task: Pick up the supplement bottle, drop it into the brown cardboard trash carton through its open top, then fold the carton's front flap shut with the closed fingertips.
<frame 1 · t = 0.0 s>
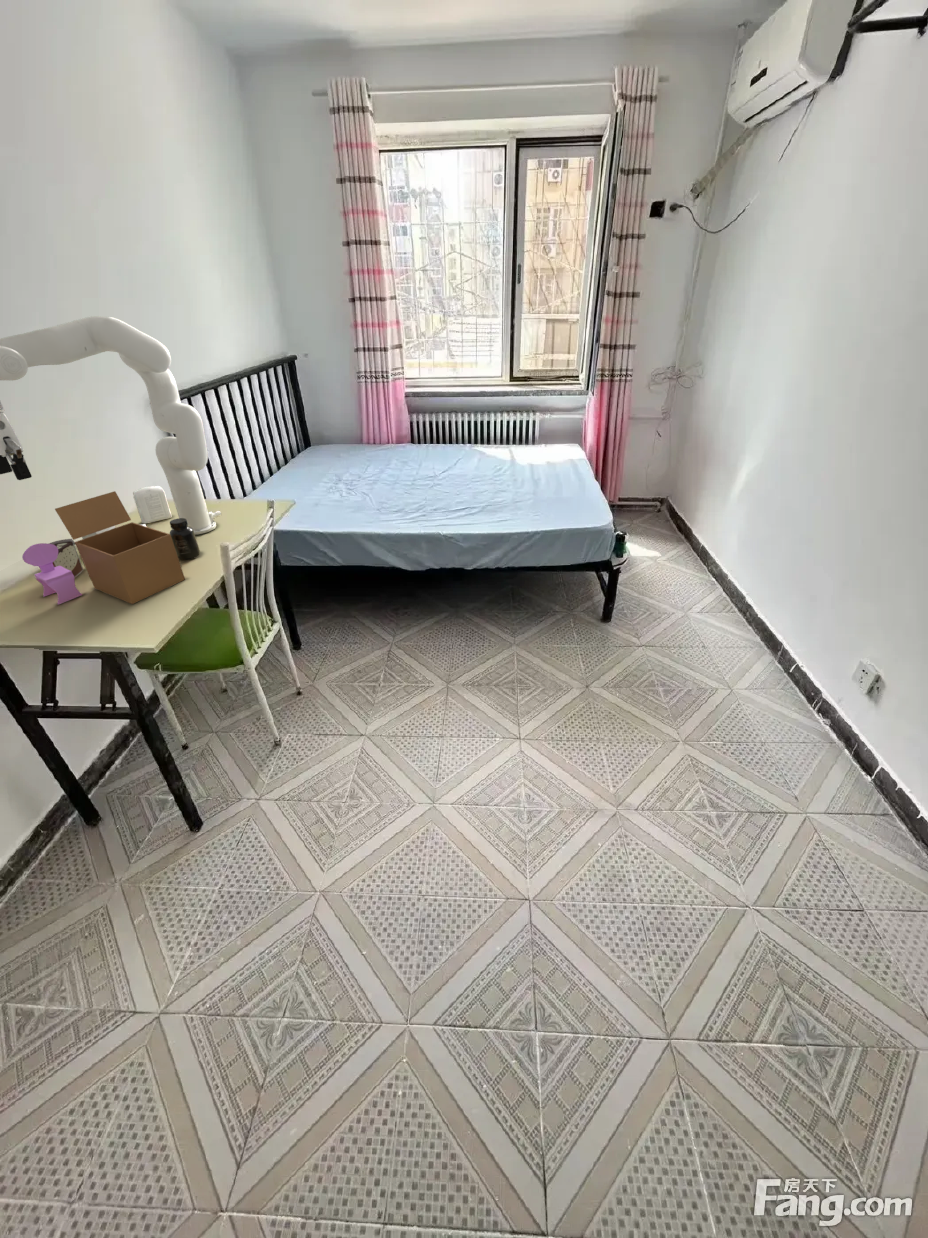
hand: (15, 475, 136), 31 cm above the table, tool pointing down, fingers open, 9 cm apart
trash carton: (140, 583, 151), on the table
marker: (140, 536, 180), on the table
supplement bottle: (189, 556, 167), on the table
toy chair: (63, 596, 145), on the table
food container: (64, 578, 154), on the table
carton flap: (94, 514, 145), point 19 cm above the table, hinge at 110.0°
cosmetic box: (105, 548, 172), on the table
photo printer: (157, 520, 192), on the table
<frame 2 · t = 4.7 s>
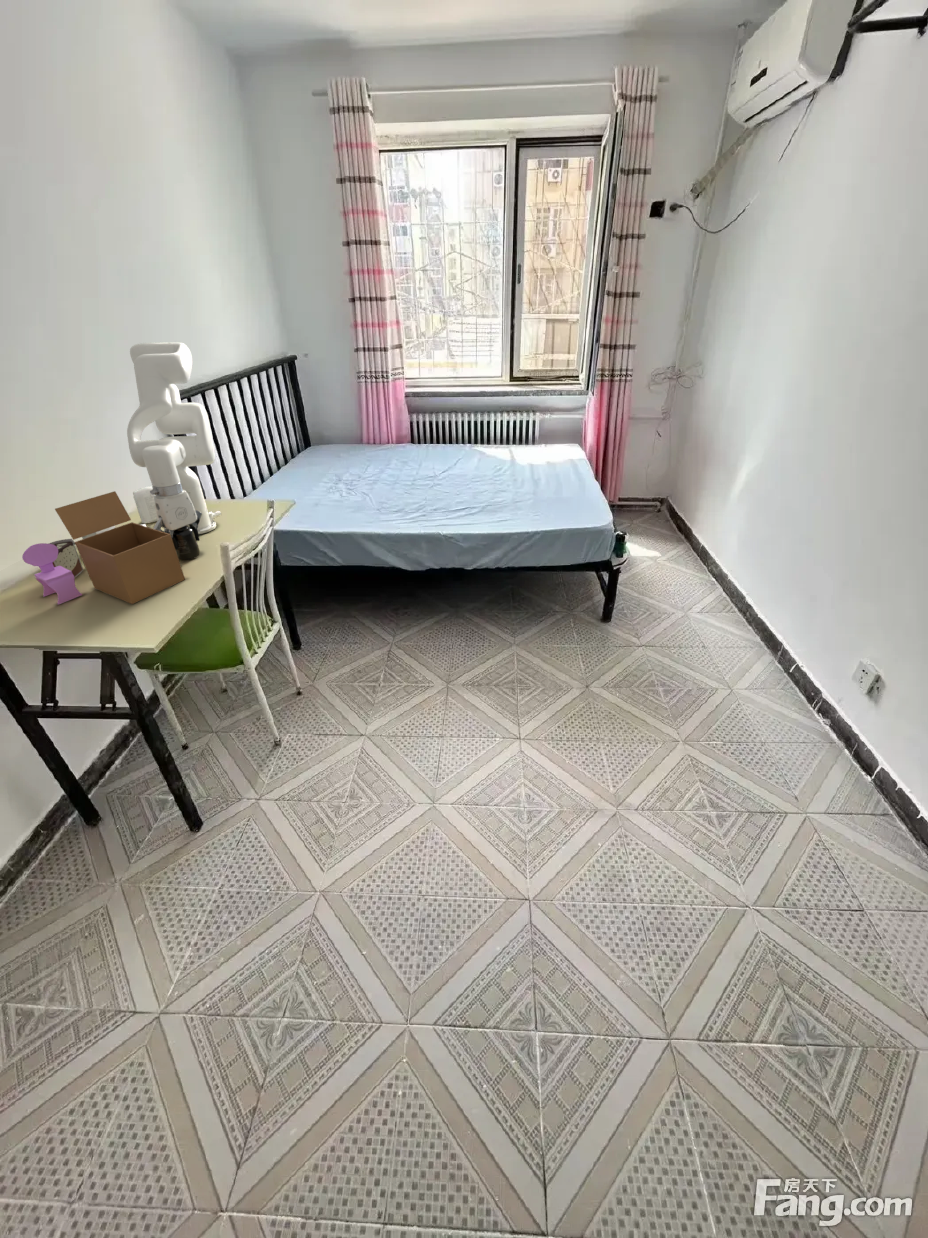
hand: (185, 543, 164), 4 cm above the table, tool pointing down, fingers closed on supplement bottle, 6 cm apart
supplement bottle: (189, 556, 167), on the table, touching gripper
everything else where it was.
when the fingers open (8 cm above the table, at t = 13.0 s): supplement bottle drops 3 cm, resting on trash carton.
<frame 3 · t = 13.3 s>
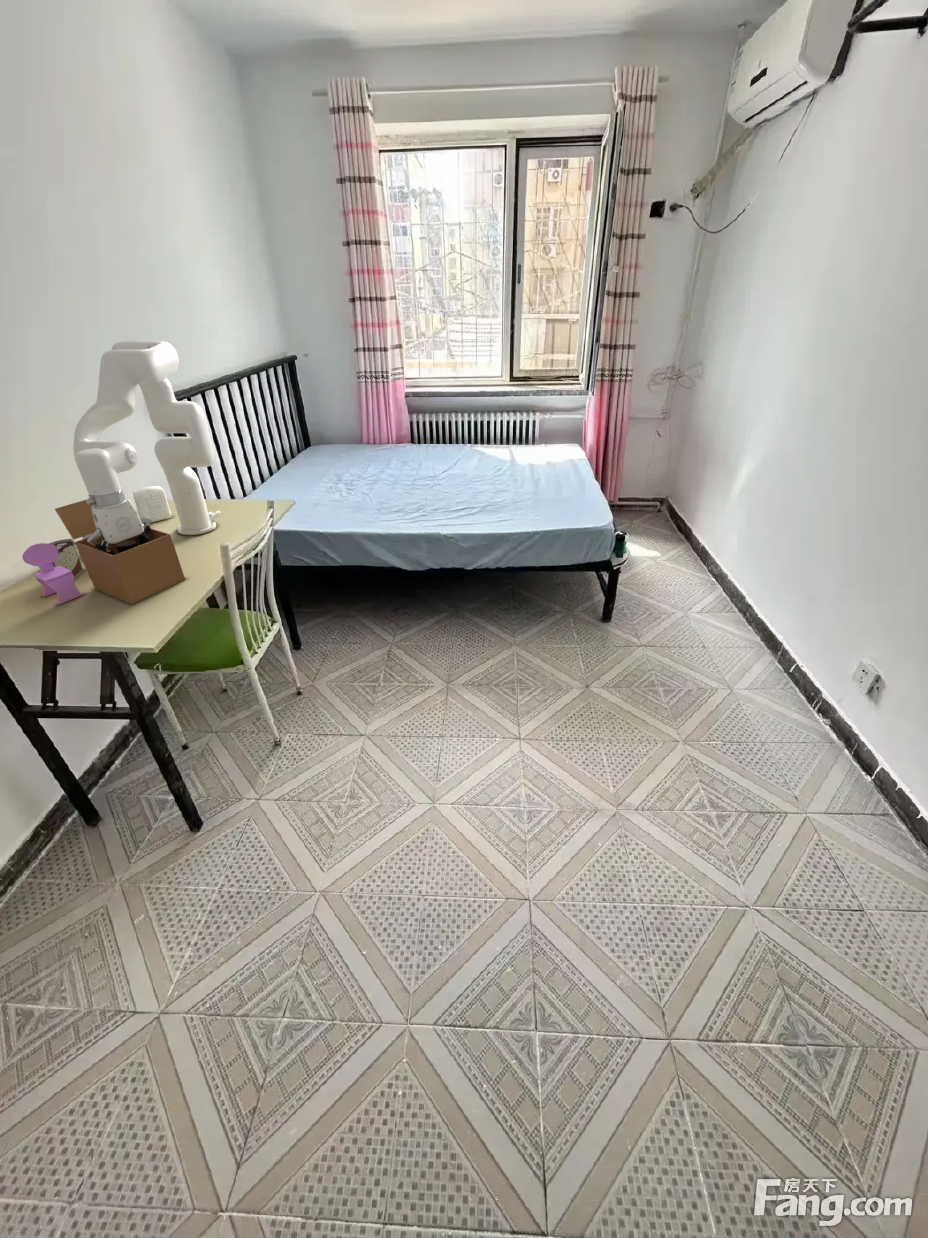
hand: (130, 556, 147), 9 cm above the table, tool pointing down, fingers open, 9 cm apart
supplement bottle: (141, 582, 152), resting on trash carton
everything else where it was.
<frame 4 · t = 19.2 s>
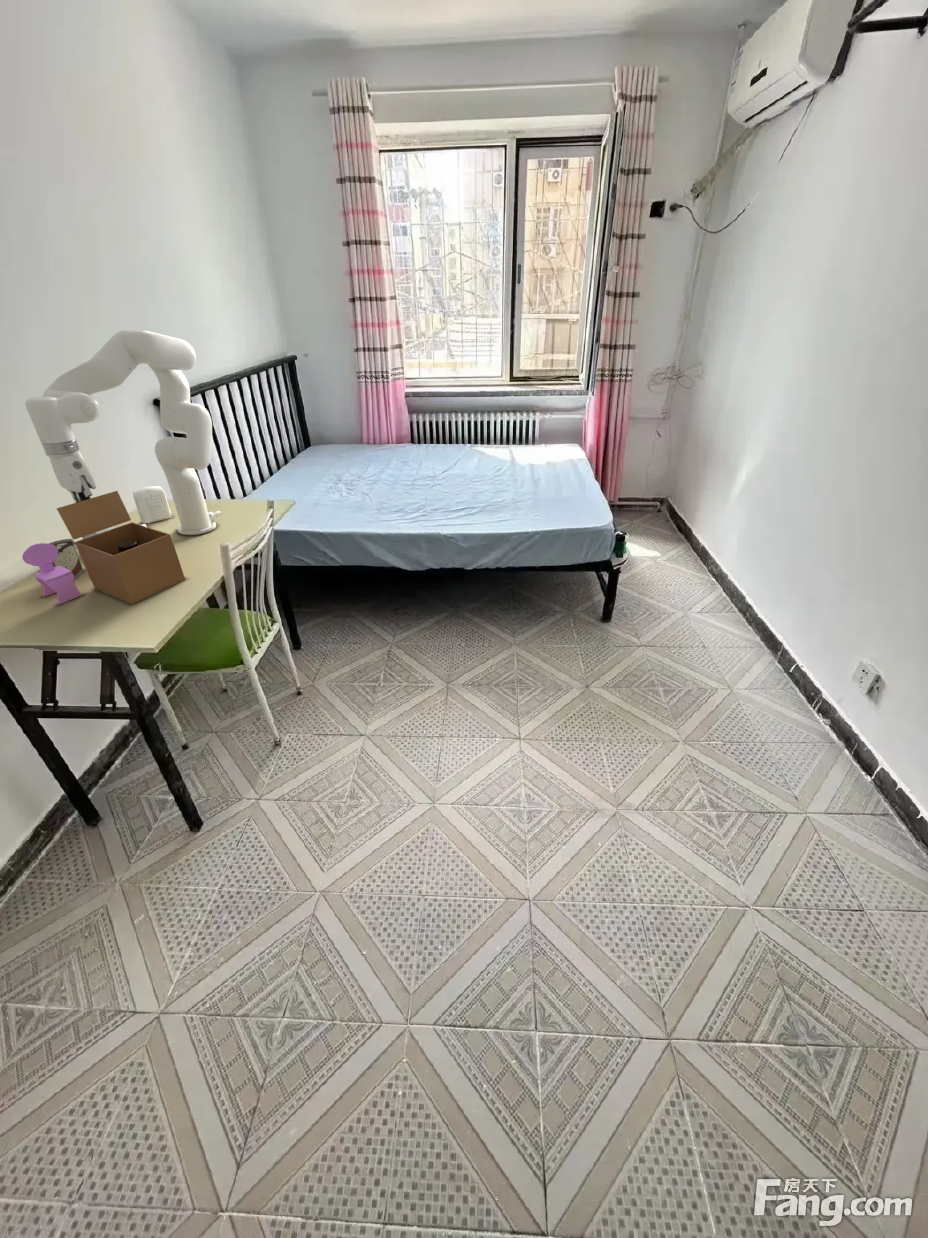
hand: (88, 513, 147), 19 cm above the table, tool pointing down, fingers closed
carton flap: (95, 514, 145), point 19 cm above the table, hinge at 102.0°, touching gripper
everything else where it was.
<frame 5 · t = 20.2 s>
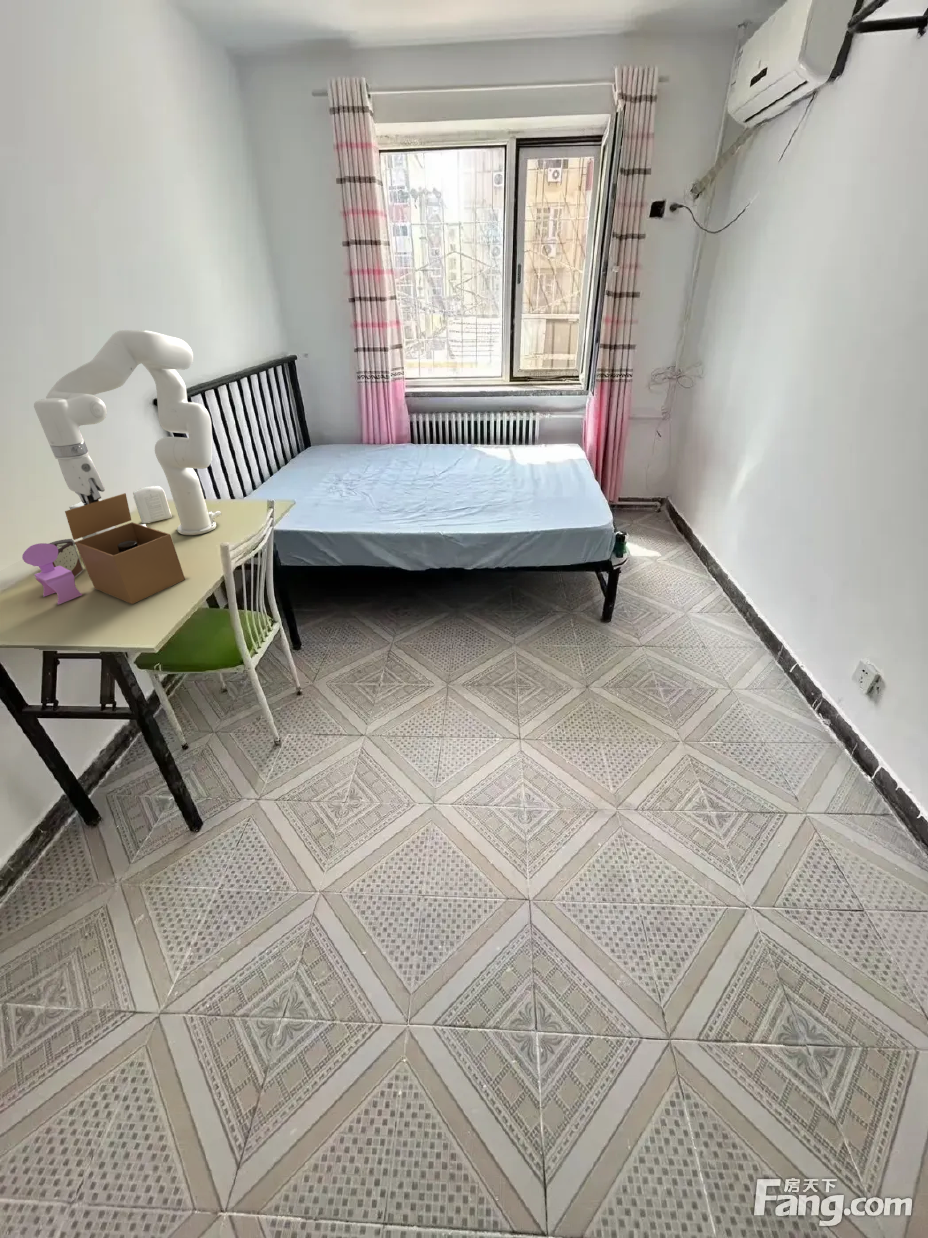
hand: (96, 516, 145), 19 cm above the table, tool pointing down, fingers closed
carton flap: (100, 515, 144), point 19 cm above the table, hinge at 75.8°, touching gripper
everything else where it was.
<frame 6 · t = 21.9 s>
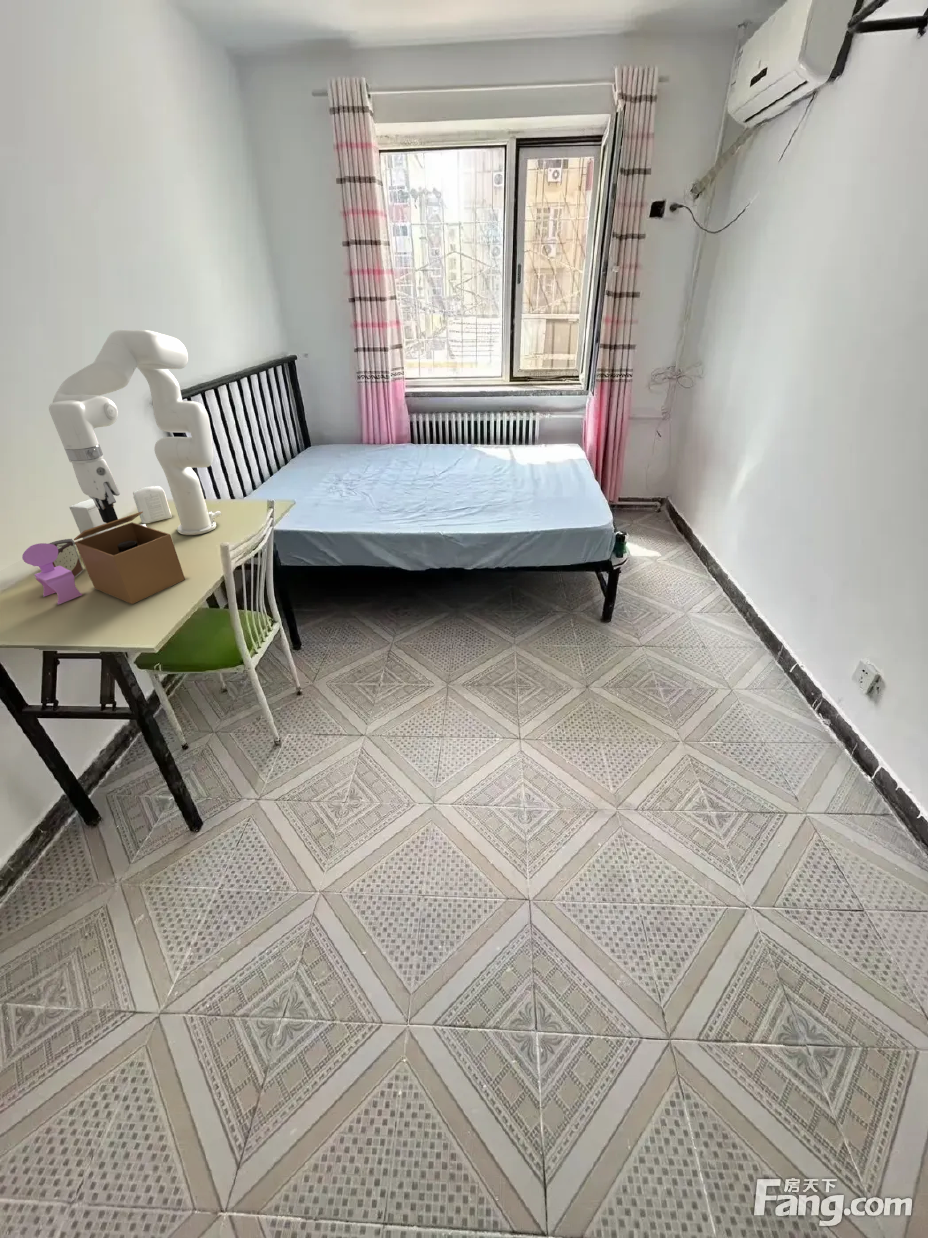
hand: (110, 521, 142), 19 cm above the table, tool pointing down, fingers closed
carton flap: (109, 525, 144), point 17 cm above the table, hinge at 27.9°, touching gripper
everything else where it was.
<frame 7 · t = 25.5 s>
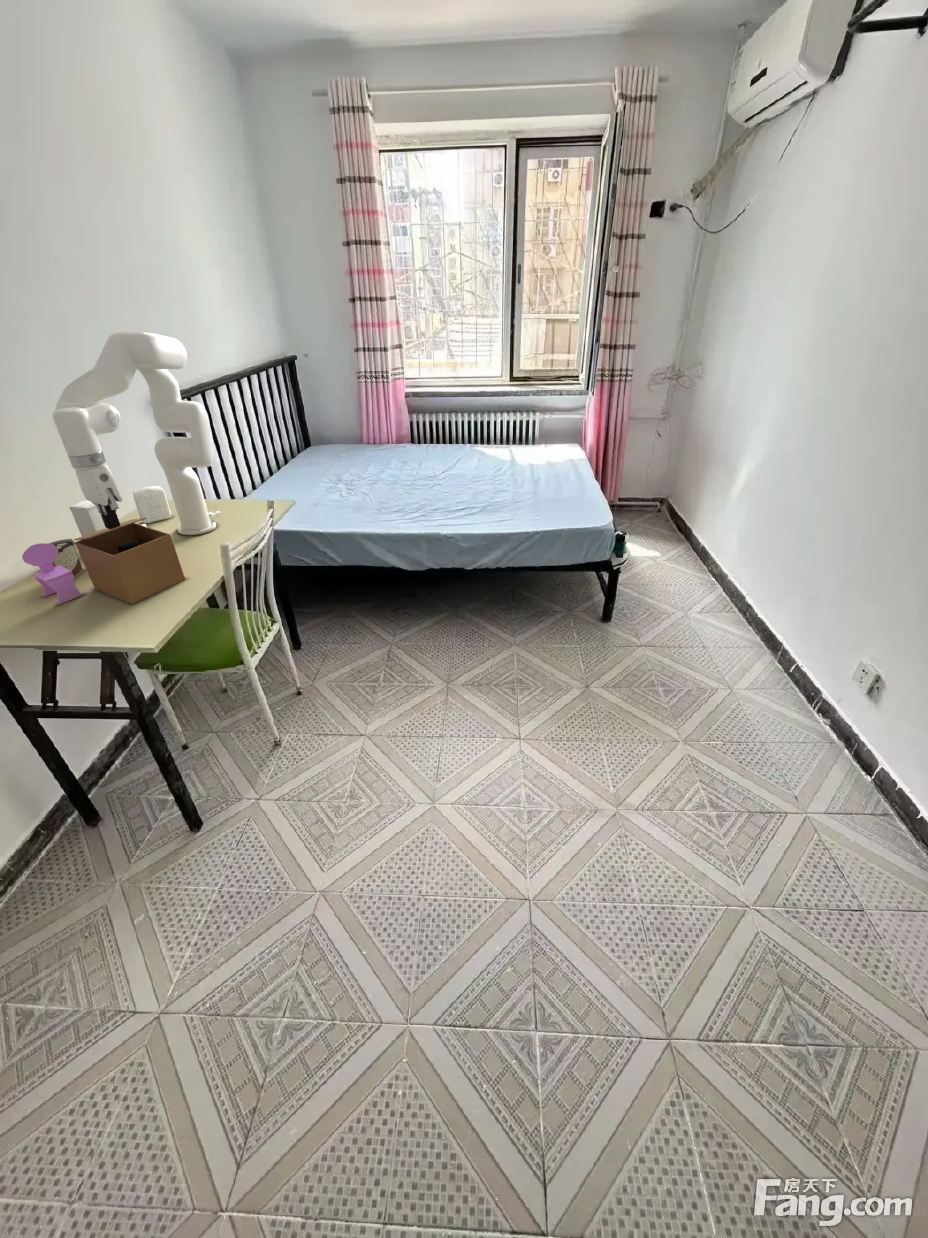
hand: (113, 526, 143), 17 cm above the table, tool pointing down, fingers closed
carton flap: (110, 528, 144), point 16 cm above the table, hinge at 15.8°, touching gripper
everything else where it was.
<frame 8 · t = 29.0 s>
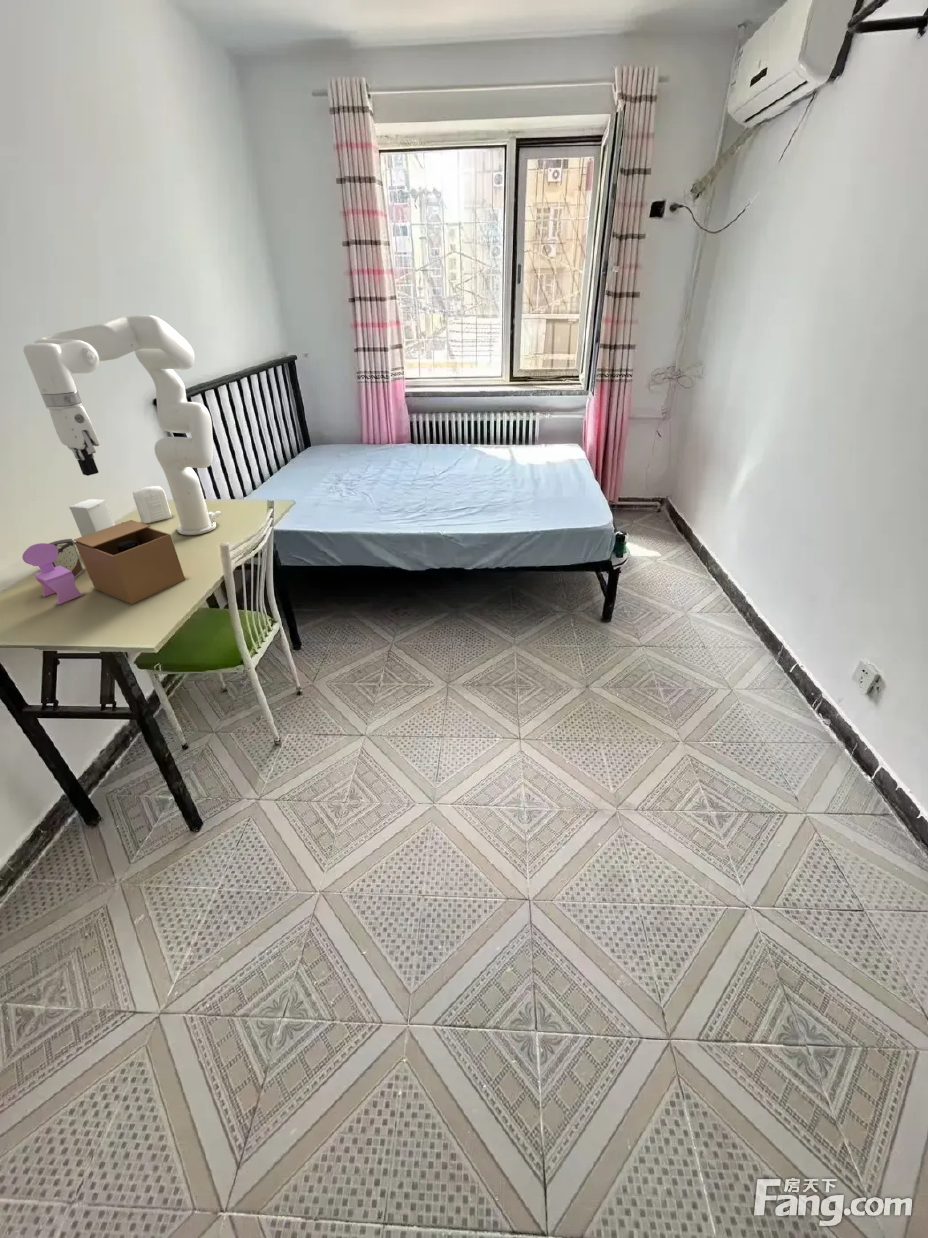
hand: (91, 473, 138), 31 cm above the table, tool pointing down, fingers closed
carton flap: (112, 532, 145), point 15 cm above the table, hinge at -0.1°
everything else where it was.
at the end: supplement bottle inside the target area in the trash carton (0.5 cm from its centre), point 0.2 cm above the trash carton's base; carton flap at +0° (first picture: +110°) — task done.
